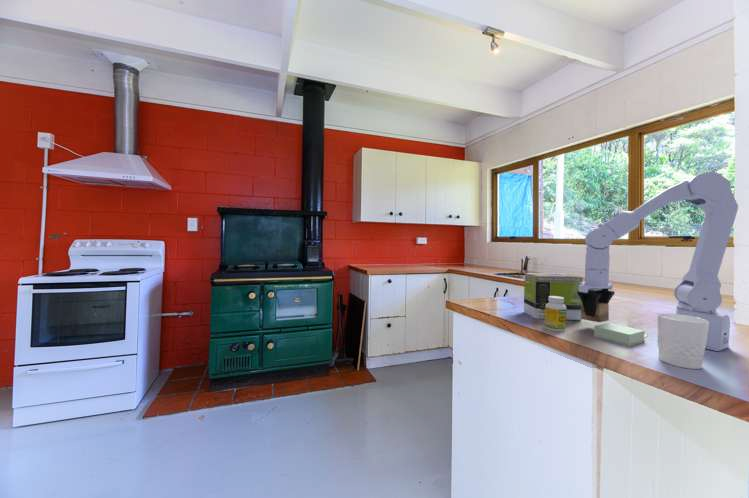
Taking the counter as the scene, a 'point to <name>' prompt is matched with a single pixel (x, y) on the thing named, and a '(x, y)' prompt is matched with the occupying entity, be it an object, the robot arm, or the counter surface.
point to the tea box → (552, 293)
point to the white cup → (682, 340)
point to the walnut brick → (597, 313)
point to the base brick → (619, 334)
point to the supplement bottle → (555, 314)
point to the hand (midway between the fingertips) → (595, 314)
